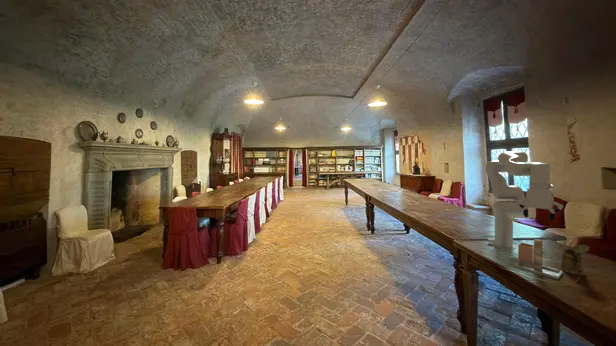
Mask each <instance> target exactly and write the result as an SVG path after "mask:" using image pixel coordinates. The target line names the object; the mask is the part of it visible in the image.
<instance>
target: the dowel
mask: <svg viewBox="0 0 616 346" xmlns="http://www.w3.org/2000/svg"><path fill="white" fill-rule="evenodd" d="M543 242H544V241H543V240H542V239H538V238H534V240H533V245H534V270H537V271H542V266H543V261H544V260H543V259H544V257H543V254H544V253H543V250H544V249H543V244H544V243H543Z"/></svg>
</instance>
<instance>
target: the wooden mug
mask: <svg viewBox="0 0 616 346" xmlns="http://www.w3.org/2000/svg"><path fill="white" fill-rule="evenodd" d="M590 248H591V247H590V246H589V245H588V244H586V243H581V244H575V245H573V246H572V247H571V248H564V249H563V251H562V253H561V255H562V257H561V261H560V264H559V267H558V269H559V270H561V271H563V272H565V273H569V274H573V275H579V277H583V276H586V271H585V269H584V263H583V260H584V257H583V254H585V253H587V252H589V250H590Z"/></svg>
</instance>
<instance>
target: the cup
mask: <svg viewBox="0 0 616 346" xmlns="http://www.w3.org/2000/svg"><path fill="white" fill-rule="evenodd" d="M517 246H518V247H517V248H518V249H517V251H518V252H517V255H518V256H517V260H518V261H519V262H520V261H521V260H522V261H526V262H530V263H534V244H531V243H526V242H525V243H524V242H521V243H518V244H517Z"/></svg>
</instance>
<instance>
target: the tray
mask: <svg viewBox="0 0 616 346" xmlns="http://www.w3.org/2000/svg"><path fill="white" fill-rule="evenodd" d="M514 267H515V269H519V270H523V271H526V272H530V273H533V274H537V275H541V276H544V277H547V278H551V279H554V280H560V278H561V277H562V275H563V274H564V271H563V270H561V269H557V268H554V267H548V266H545V265H542V271H537V270H534V263H530V262H526V261H522V260H521V261H519V262H517V263H516V264H515V266H514Z"/></svg>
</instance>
